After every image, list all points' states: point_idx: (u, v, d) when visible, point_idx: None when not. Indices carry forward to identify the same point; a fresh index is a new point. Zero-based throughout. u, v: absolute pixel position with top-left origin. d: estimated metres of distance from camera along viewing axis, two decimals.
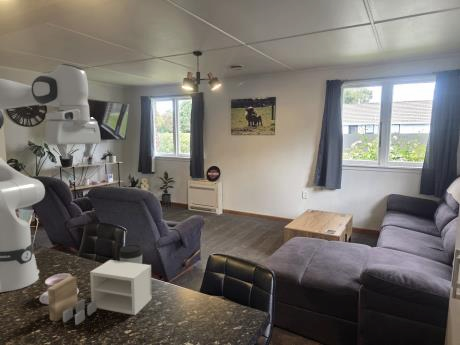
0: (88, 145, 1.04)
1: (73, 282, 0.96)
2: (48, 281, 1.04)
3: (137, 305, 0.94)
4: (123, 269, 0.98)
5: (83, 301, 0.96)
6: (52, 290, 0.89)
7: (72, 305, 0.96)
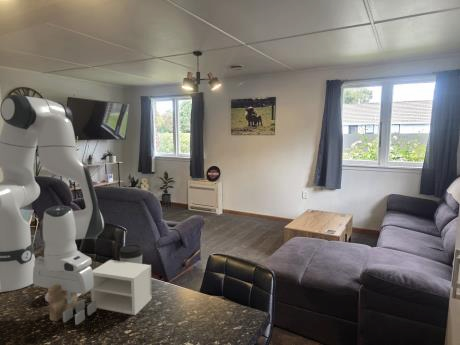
0: None
1: None
2: None
3: (137, 305, 0.94)
4: (123, 269, 0.98)
5: (83, 301, 0.96)
6: (52, 290, 0.89)
7: (72, 305, 0.96)
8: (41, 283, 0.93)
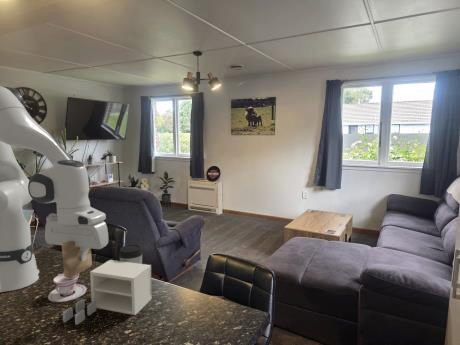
0: None
1: None
2: (56, 279, 1.05)
3: (137, 305, 0.94)
4: (123, 269, 0.98)
5: (83, 301, 0.96)
6: (66, 245, 0.86)
7: (86, 263, 0.92)
8: (53, 240, 0.90)
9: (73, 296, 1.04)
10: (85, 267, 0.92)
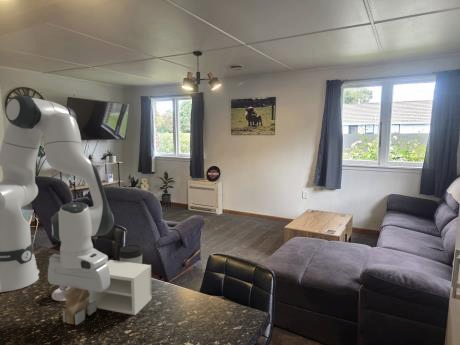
0: None
1: None
2: None
3: (137, 305, 0.94)
4: (123, 269, 0.98)
5: None
6: (69, 293, 0.88)
7: None
8: (56, 281, 0.91)
9: None
10: None
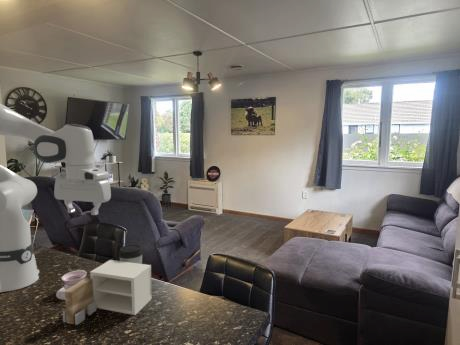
0: (70, 200, 1.03)
1: (89, 284, 0.94)
2: (64, 277, 1.07)
3: (137, 305, 0.94)
4: (123, 269, 0.98)
5: None
6: (69, 293, 0.88)
7: None
8: (62, 196, 1.01)
9: None
10: None
